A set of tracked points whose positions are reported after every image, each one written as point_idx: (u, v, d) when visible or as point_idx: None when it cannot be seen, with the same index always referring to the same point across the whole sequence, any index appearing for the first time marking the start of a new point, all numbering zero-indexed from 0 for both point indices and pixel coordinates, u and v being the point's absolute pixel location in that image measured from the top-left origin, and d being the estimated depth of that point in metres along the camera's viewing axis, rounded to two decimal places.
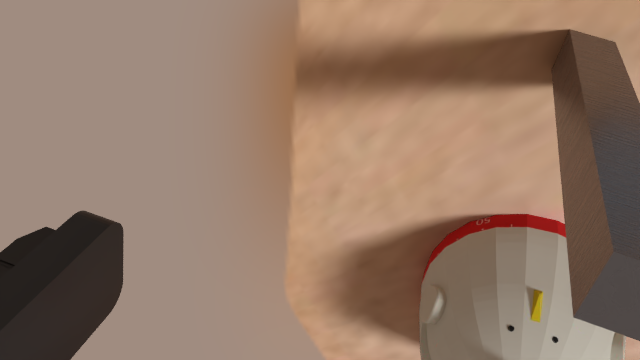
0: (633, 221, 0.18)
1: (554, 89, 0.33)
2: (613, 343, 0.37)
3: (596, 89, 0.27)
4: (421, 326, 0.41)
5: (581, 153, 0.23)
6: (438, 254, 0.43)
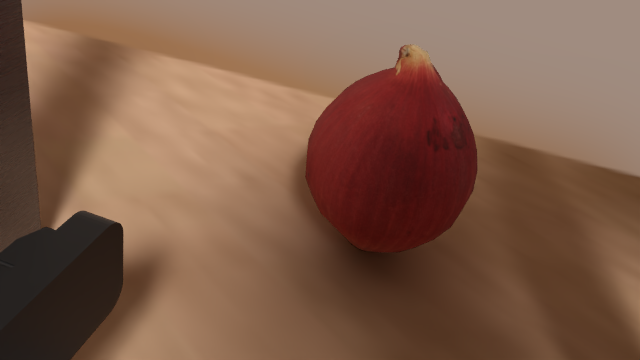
0: None
1: None
2: None
3: None
4: None
5: None
6: None
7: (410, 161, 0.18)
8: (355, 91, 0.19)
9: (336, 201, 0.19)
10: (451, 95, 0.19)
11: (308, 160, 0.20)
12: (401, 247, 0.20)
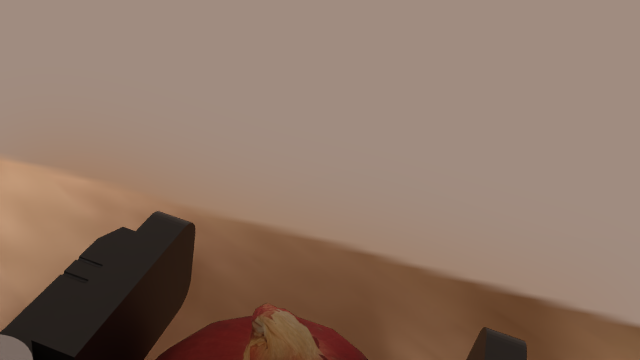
0: None
1: None
2: None
3: None
4: None
5: None
6: None
7: None
8: None
9: None
10: None
11: None
12: None
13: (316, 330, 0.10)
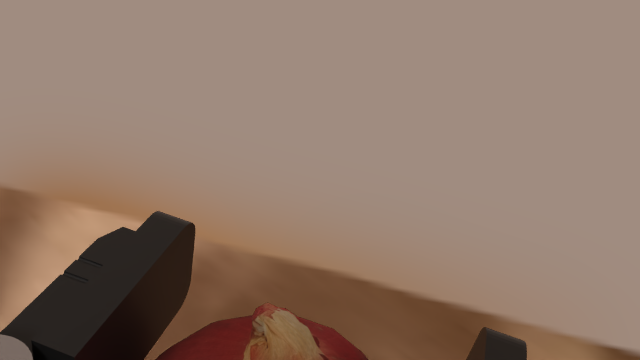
0: None
1: None
2: None
3: None
4: None
5: None
6: None
7: None
8: None
9: None
10: None
11: None
12: None
13: (316, 329, 0.10)
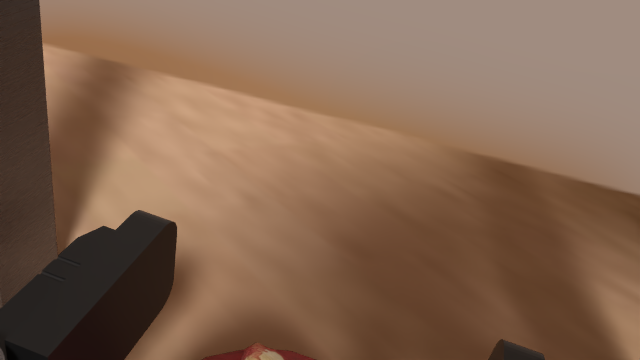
0: None
1: None
2: None
3: (21, 23, 0.15)
4: None
5: None
6: None
7: None
8: None
9: None
10: None
11: None
12: None
13: None
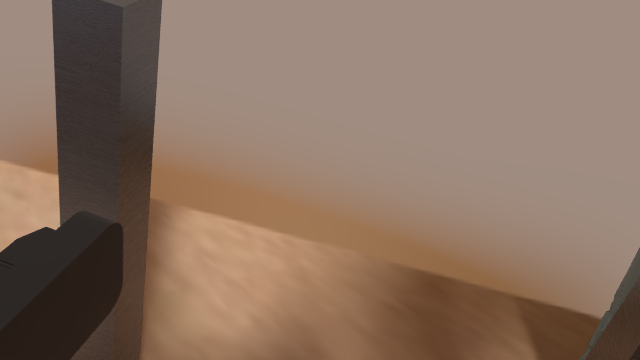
0: (148, 50, 0.22)
1: None
2: None
3: (138, 268, 0.28)
4: None
5: None
6: None
7: None
8: None
9: None
10: None
11: None
12: None
13: None
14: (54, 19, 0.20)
